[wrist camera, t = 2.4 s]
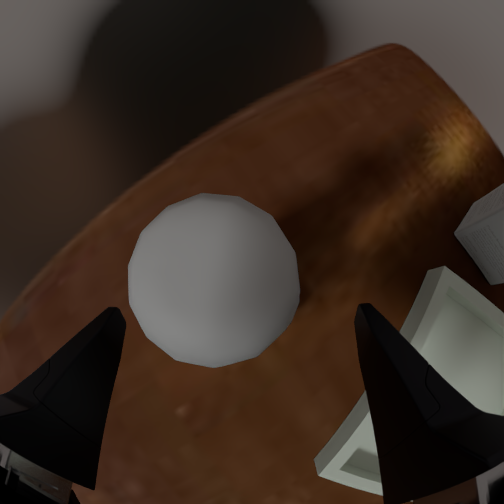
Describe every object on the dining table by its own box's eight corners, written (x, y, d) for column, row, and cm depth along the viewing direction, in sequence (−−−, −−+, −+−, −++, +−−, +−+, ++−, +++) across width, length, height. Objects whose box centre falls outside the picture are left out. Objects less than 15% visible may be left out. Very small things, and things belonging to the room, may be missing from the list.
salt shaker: (279, 241, 19) (287, 123, 6) (307, 322, 18) (377, 357, 5) (197, 268, 19) (76, 204, 6) (222, 350, 18) (128, 423, 5)
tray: (444, 496, 13) (454, 507, 11) (314, 459, 16) (318, 475, 14) (528, 350, 15) (544, 351, 13) (427, 270, 18) (444, 265, 16)
